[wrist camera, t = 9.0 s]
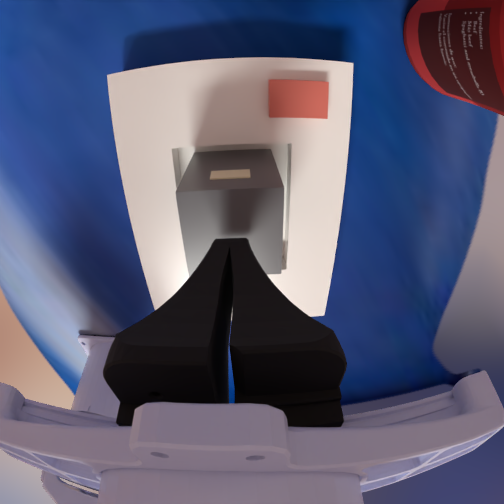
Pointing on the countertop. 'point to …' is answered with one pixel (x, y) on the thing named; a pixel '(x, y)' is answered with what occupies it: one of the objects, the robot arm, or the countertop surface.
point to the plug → (232, 204)
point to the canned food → (459, 48)
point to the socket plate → (236, 138)
